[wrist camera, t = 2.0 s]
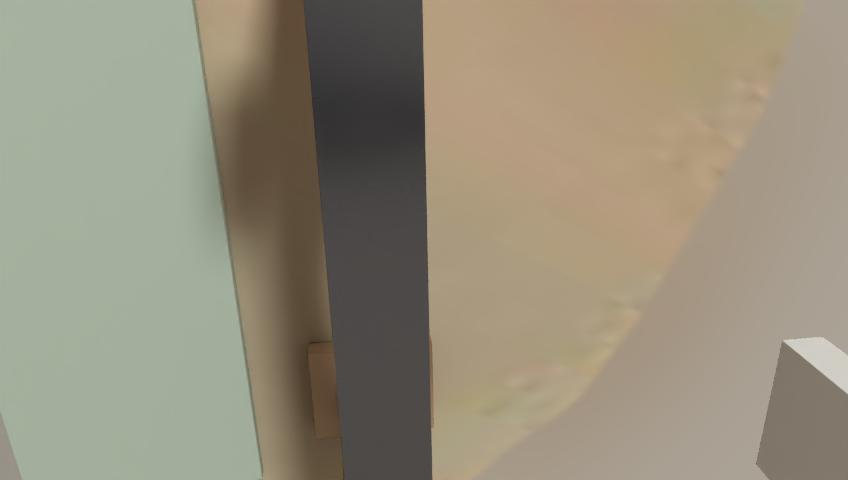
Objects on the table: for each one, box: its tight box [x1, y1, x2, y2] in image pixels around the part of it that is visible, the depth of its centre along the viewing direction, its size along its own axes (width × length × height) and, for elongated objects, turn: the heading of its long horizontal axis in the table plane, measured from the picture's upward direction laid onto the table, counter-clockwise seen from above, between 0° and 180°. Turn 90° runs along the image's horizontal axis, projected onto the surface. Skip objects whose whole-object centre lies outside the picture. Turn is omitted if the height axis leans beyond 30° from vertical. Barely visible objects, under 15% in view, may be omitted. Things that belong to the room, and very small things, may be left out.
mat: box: [0, 0, 263, 480], centre depth 27 cm, size 12×34×1 cm, turn 1°
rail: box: [304, 0, 432, 480], centre depth 18 cm, size 2×30×2 cm, turn 1°
